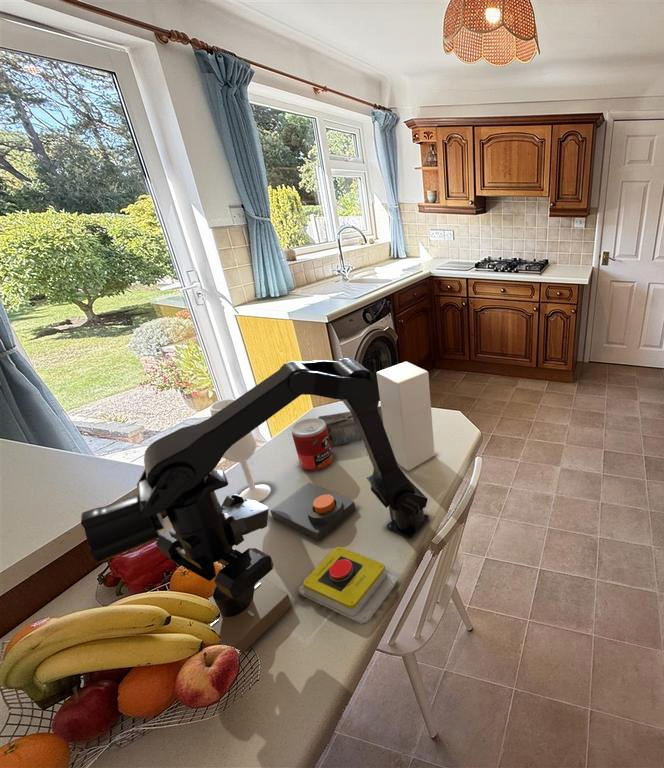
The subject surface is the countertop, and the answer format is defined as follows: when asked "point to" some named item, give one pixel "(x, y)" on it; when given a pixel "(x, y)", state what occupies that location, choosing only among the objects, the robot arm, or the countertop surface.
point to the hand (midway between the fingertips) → (230, 589)
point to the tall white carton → (407, 413)
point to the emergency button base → (311, 511)
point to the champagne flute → (243, 457)
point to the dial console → (252, 617)
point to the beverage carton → (343, 427)
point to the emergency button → (349, 584)
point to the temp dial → (228, 604)
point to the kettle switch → (324, 504)
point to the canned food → (312, 443)
